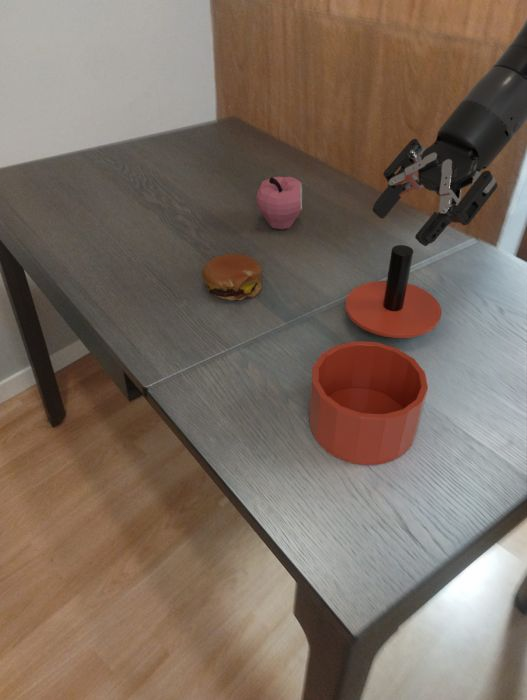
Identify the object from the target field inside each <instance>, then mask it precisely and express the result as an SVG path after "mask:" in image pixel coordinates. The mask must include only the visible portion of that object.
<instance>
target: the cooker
mask: <svg viewBox="0 0 527 700" xmlns="http://www.w3.org/2000/svg"><path fill="white" fill-rule="evenodd" d="M310 386H311V387H310V388H311V389H310V401H309V402H310V404H309V405H310V406H309V428H310V432H311V433H312V436H313V437H314V439H315V441H316V442H317V443H318V444H319V446H320V447H321V448H322V449H323V450H325V451H326V452H327V453H329V454H330V455H331V456H332V457H335V458H338V459H340V460H341V461H344V462H347V463H351V464H355V465H362V466H375V465H382V464H383V465H384V464H387V463H391V462H393V461H395V460H397V459H399V458H400V457H402V456H404V455H405V454H406V453H407V451H409V449H410V448H411V447H412V445H413V444H414V441H415V439H416V435H417V432H418V431H419V430H418V429H419V426H420V422H421V418H422V413H423V410H424V406H425V401H426V398H427V395H428V394H427V393H428V391H429V384H428V381H427V376H426V372H425V370H424V369H423V368H422V367H421V365H420V364H419V363H418V362H417V361H416V359H415V358H413V357H412V356H410V355H409V354H407V353H405V352H404V351H402V350H400V349H399V348H397V347H394V346H391V345H387V344H384V343H380V342H377V341H361V340H354V341H350V342H345V343H340V344H336V345H334V346H332V347H331V348H329V349H327V350H326V351H323V352H322V353H321V354H319V357H318V358H317V360H316V361H315V363H314V364H313V366H312V371H311V385H310Z"/></svg>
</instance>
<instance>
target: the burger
mask: <svg viewBox="0 0 527 700" xmlns="http://www.w3.org/2000/svg"><path fill="white" fill-rule="evenodd" d="M201 270H202V271H201V278H202V280H203V284H204V283H205V286H206V289H207V291H208V292H209V294H211V295H213V296H215V297H217V298H219V299H223V300H227V301H231V302H233V301H243V300H244V299H245V298H247V297H248V298H255V297H257V296H258V295H259V294H260V292H261V290H262V289H263V288H262V286H263V282H262V268H261V265H260V264H259V263H258V262H257V260H255V259H254V258H252V257H250V256H248V255H246V254H241V253H226V254H222V255H218V256H214V257H213V258H211V259H210V260H208V261H207V262H206V263H205V264H204V265H203V268H202V269H201Z"/></svg>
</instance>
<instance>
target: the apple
mask: <svg viewBox="0 0 527 700" xmlns="http://www.w3.org/2000/svg"><path fill="white" fill-rule="evenodd" d="M255 197H256V198H255V200H256V205H257V207H258V209H259V211H260V212H261V214H262V215H263V217H264V219H265V220H266V222H267V224H268V225H269V226H270V227H271V228H272V229H275V230H285V229H291V227H292V225H293V224H294V222H295V221H296V219H297V218H298V216H299V215H300V214H301V212H302V210H303V184H302V182H301V181H300V180H298V179H297V178H295V177H293V176H274V177H270V178H267V179H264V180H263V181H262V182H261V184H260V185H259V188H258V190H257V192H256V196H255Z"/></svg>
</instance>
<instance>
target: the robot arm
mask: <svg viewBox="0 0 527 700" xmlns="http://www.w3.org/2000/svg"><path fill="white" fill-rule="evenodd" d="M526 122H527V18H526V19H525V21H524V23H523V25H522V27H521V28H520V30H519V32H518V33H517V34H516V36H515V38H513V40H512V41H511V42H510V44H509V45H508V47H507V48H506V49H505V50H504V51H503V53H502V54H501V55H500V56H499V58H498V59H497V60H496V62H495V63H494V64H493V65H492V67H491V68H490V69H489V70H488V71H487V72H486V73H485V74H484V75H483V76H482V77H481V78H480V79H479V80H478V81H477V82H476V83H475V84H474V86H473V87H472V88H471V89H470V90H469V92H468V93H467V94H466V96H465V97H464V98H463V99H462V100H461V102H460V103H458V105H457V106H456V108H455V109H454V110H453V112H452V113H451V114H450V116H449V117H448V118H446V120H445V121H444V122H443V124H442V125H441V126H440V128H439V129H438V131H437V135H436V138H435V141H434V142H433V143H432V144H430V145H429V146H428V147H426V146H423V145H422V144H421V143H420V141H419V140H418V139H417V138H412V139H411V140H410V141H409V142H408V143H407V144H406V145H405V146H404V148H403V149H402V150H401V151H400V153H399V154H398V155H397V156H396V157H395V158H394V159H393V160H392V162H391V163H390V164H389V165H388V166H387V167H386V169H384V171H383V174H382V175H383V177H384V178H385V180H386V181H387V183H388V184H387V187H386V188H385V189H384V191H382V193H381V194H380V196H379V197H378V199H376V201H375V202H374V203H373V207H372V212H373V213H374V214H375V215H376V216H377V217H378V218H380V219H381V220H383V219H384V218H386V217H387V215H388V214H389V213H390V212H391V210H392V209H393V208H394V207H395V206H396V204H397V203H398V202H399V201H400V199H401V198H402V195H404V194H406V193H409V192H410V191H414V190H415V191H419V190H421V189H423V188H424V189H426V190H428V191H431V192H435V194H436V195H437V196H439V197H440V198H439V199H440V200H439V206H438V212H437V211H434V212H433V213H432V214H431V215H430V217H429V218H428V219H427V221H426V222H425V223H424V224H423V225H422V227H421V228H420V229H419V230H418V232H416V234H415V237H414V238H415V239H416V241H418V243H419V244H420V245H422V246H424V247H427V246H428V245H430V244H433V243H434V242H435V241H436V240H437V239H438V238H439V236H440V235H441V234H442V233H443V232H444V231H445V229H446V228H447V227H448V226H449V225H451V224H454V223H457V224H458V223H459V224H461V225H462V226H467V225H469V224H470V223H471V222H472V220H473V219H474V218H475V217H476V215H477V214H478V213H479V212H480V210H481V209H482V208H483V206H485V204H486V203H487V202H488V200H489V199H490V198H491V196H492V195H493V194H494V192H495V191H496V189H497V188H498V182H497V180H496V178H495V177H494V175H493V174H492V172H491V171H490V170H486V169H487V168H489V166H490V165H491V164H492V163H493V161H494V160H496V158H497V157H498V156H499V154H500V153H501V152H502V151H504V149H505V148H506V146H507V145H508V144H509V142H510V141H511V140H512V139H513V138H514V137H515V135H516V134H518V132H519V131H520V130H521V128H523V126H524V125H525V124H526ZM398 169H399V170H398ZM482 171H483V172H482ZM416 174H418V176H417V175H416ZM468 186H470V188H469V189H468V190H467V192H466V193H465V194H464V196H463V197H462V193H463V189H465V188H466V187H468Z"/></svg>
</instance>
